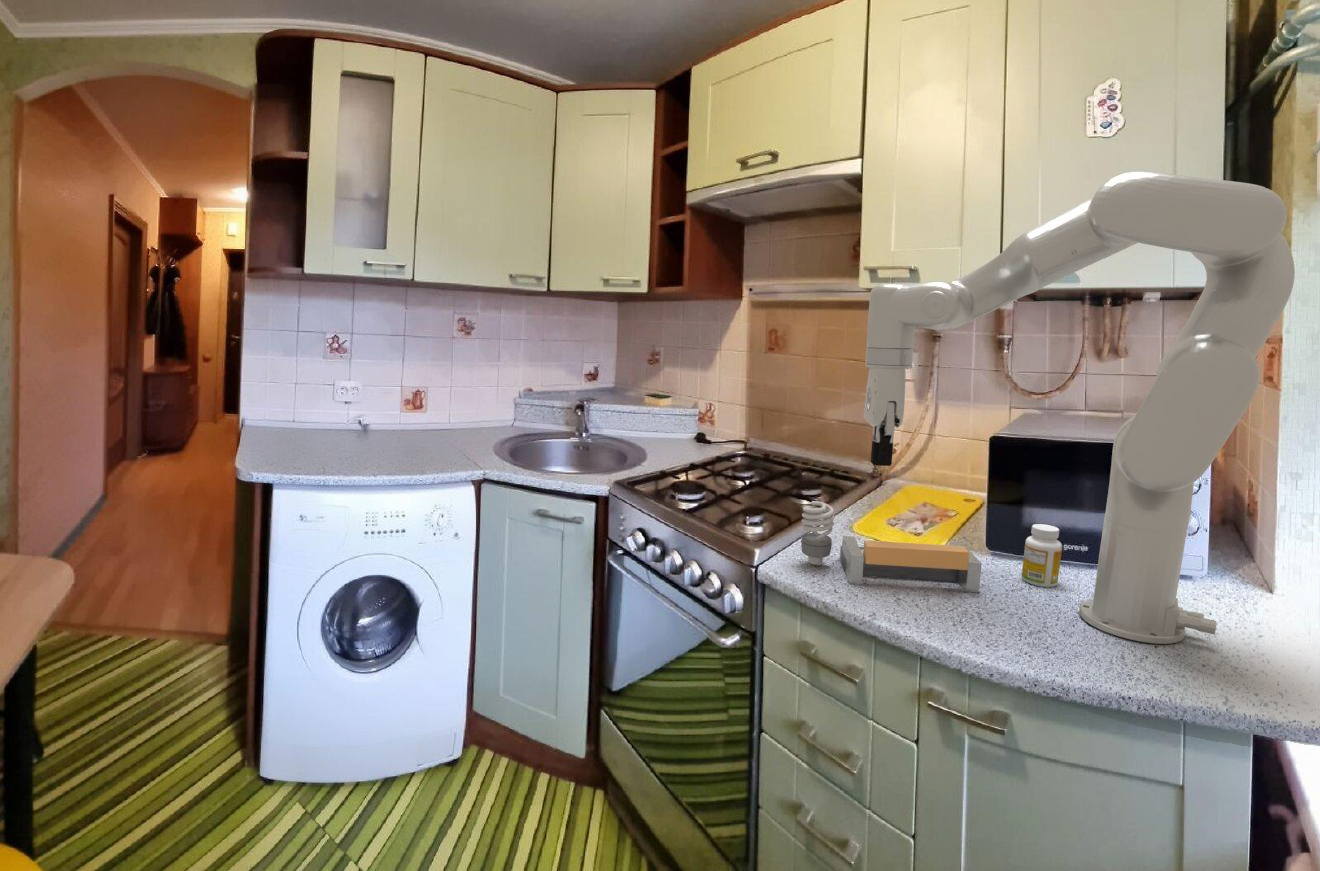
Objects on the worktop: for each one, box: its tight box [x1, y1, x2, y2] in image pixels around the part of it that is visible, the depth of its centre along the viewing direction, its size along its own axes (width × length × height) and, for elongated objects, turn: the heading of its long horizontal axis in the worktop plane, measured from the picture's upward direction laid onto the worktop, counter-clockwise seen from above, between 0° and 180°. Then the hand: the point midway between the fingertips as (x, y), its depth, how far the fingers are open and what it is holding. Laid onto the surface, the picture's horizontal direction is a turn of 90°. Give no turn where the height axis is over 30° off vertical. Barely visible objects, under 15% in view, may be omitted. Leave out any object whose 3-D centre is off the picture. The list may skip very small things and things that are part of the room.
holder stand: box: [839, 535, 983, 593], centre depth 112 cm, size 21×12×5 cm, turn 82°
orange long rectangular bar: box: [863, 540, 970, 570], centre depth 107 cm, size 16×3×3 cm, turn 82°
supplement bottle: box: [1021, 523, 1063, 588], centre depth 110 cm, size 5×5×10 cm
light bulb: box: [800, 500, 835, 567], centre depth 115 cm, size 6×6×12 cm
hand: (880, 464), depth 112 cm, fingers closed
